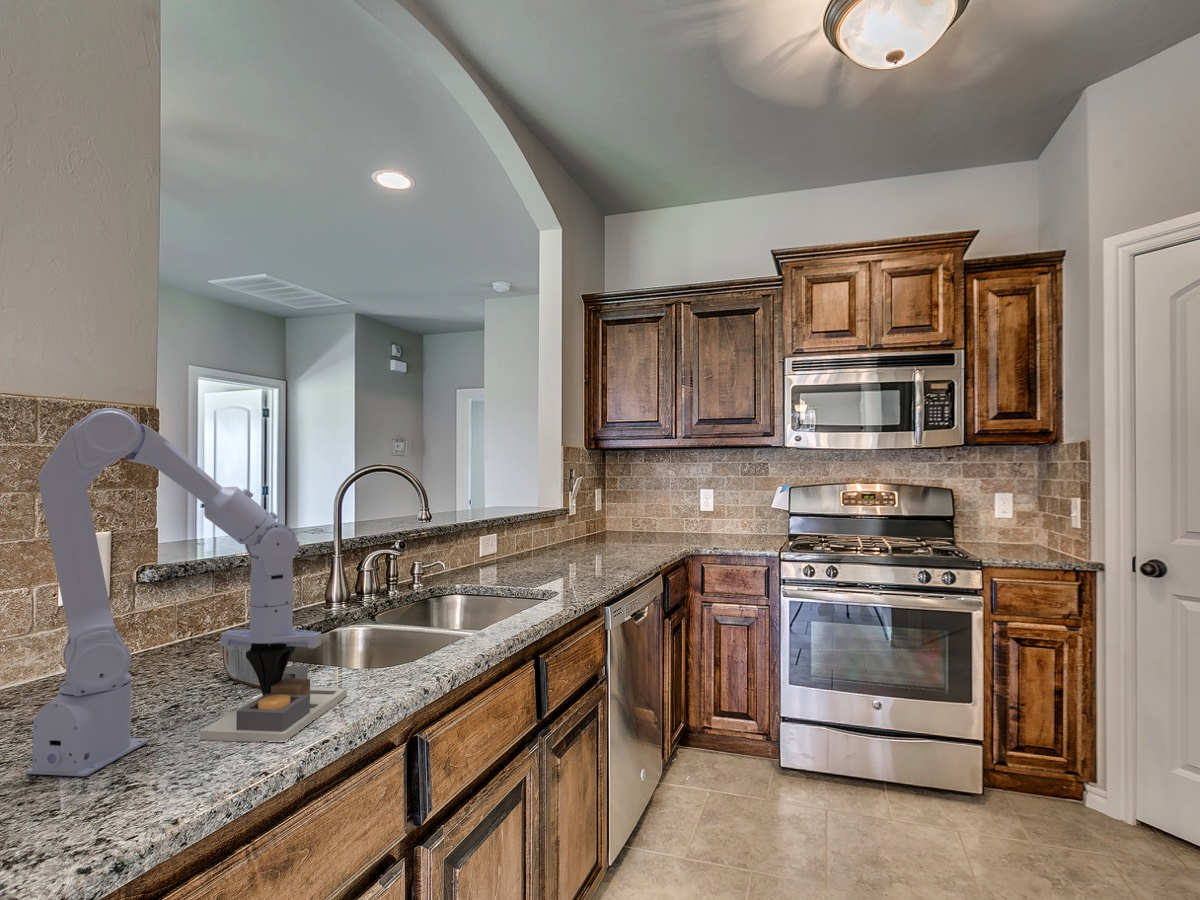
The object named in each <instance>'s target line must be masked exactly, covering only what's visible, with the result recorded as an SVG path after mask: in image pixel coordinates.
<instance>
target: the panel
mask: <svg viewBox="0 0 1200 900" xmlns="http://www.w3.org/2000/svg"><path fill="white" fill-rule="evenodd" d="M272 695H280V694H265V695H263V694H262V693H261V694H260V695H259V696H257V697H255V698H253V699H252V700H250V701H248V702H246V703H245V704H243V705H241V706H240V707H238V708H237V709H235V710H233V711H231V712H229V713H228V714H226V715H225V716H222V717H221V718H220V719H218V720H216V721H214V722H213V723H210V724H209V725H207V726H206V727H204V728H202V729H201V730H199V741H217V742H218V741H221V742H222V741H223V742H224V741H225V742H247V743H264V742H263V741H277V742H278V741H283V742H284V741H286V740H287V739H289V738H290V737H292V736H293V735H294V734H296V733H297V732H299V731H300V730H301V729H302V728H304V727H305V726H307V725H308V724H309V723H311V722H312V721H313V720H315V719H316V718H317V719H319V718H320V717H321V716H323V715H324V714H325V713H326V711H327V712H328V711H329V710H331V709H332V708H333V707H335V706H336V705H337V704H339V703H340V702H342V699H343V698H344V697H345V698H347V697H346V696H348V688H338V687H337V688H336V687H335V688H334V687H333V688H332V687H310V695H296V694H283V695H289V696H290V704H288V705H287V706H285V707H284V708H282V709H281V710H274V709H258V701H259V700H261V699H262V698H265V697H268V696H272ZM345 698H344V699H345ZM344 699H343V700H344ZM339 701H340V702H339ZM338 702H339V703H338ZM334 705H335V706H334ZM330 708H331V709H330ZM323 713H324V714H323ZM322 714H323V715H322ZM320 715H321V716H320ZM319 716H320V717H319ZM318 717H319V718H318ZM317 719H316V720H317ZM316 720H315V721H316ZM313 722H314V721H313ZM313 722H312V723H313ZM312 723H311V724H312ZM309 725H310V724H309ZM309 725H308V726H309ZM308 726H307V727H308ZM305 728H306V727H305ZM305 728H304V729H305ZM301 731H302V730H301ZM301 731H300V732H301ZM300 732H299V733H300ZM297 734H298V733H297ZM297 734H296V735H297ZM293 737H294V736H293ZM293 737H292V738H293ZM289 740H290V739H289ZM260 741H261V742H260Z"/></svg>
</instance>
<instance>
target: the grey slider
mask: <svg viewBox="0 0 1200 900" xmlns="http://www.w3.org/2000/svg"><path fill="white" fill-rule="evenodd" d="M285 678H295V679H308V666H303V665H302V666H299V665H298V666H296V665H293V666H291V665H286V668H285V670H284V673H283V676H282V680H283V679H285Z"/></svg>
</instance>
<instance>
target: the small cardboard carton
mask: <svg viewBox="0 0 1200 900" xmlns="http://www.w3.org/2000/svg"><path fill="white" fill-rule="evenodd" d="M310 688H311V678H307V679H295V678H285V679H283V680H281V681H279V682H278V683H276V684H274V685H273V686H271V694H296V695H310Z"/></svg>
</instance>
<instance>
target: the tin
mask: <svg viewBox="0 0 1200 900" xmlns="http://www.w3.org/2000/svg"><path fill="white" fill-rule="evenodd" d="M221 647H222V661H223V662H222V663H223V664H222V665H223V667H224V671H225V673H227V676H229V678H230V679H232V680H233V681H236V682H239V683H241V684H245V685H247V686H251V687H254V688H257V689H261V687H260V683H259V680H258V677H257V675H256V673H255V671H254V669H253V667H252V665H251V664H250V662H249V661H248V659H247V658H246V652H247V651H249V650H250V648H251V645H230V646H221Z"/></svg>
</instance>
